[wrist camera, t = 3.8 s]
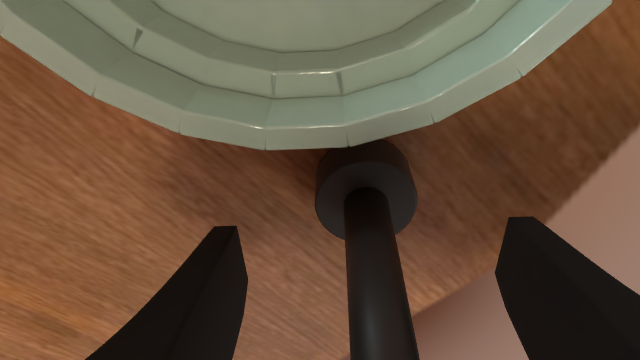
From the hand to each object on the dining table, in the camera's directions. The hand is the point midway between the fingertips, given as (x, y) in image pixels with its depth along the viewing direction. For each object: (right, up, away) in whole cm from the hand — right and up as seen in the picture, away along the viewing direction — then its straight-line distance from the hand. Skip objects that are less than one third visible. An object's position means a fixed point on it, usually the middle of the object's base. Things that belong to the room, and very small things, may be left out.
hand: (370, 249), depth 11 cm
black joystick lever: (0, +2, +3) cm, 4 cm away
